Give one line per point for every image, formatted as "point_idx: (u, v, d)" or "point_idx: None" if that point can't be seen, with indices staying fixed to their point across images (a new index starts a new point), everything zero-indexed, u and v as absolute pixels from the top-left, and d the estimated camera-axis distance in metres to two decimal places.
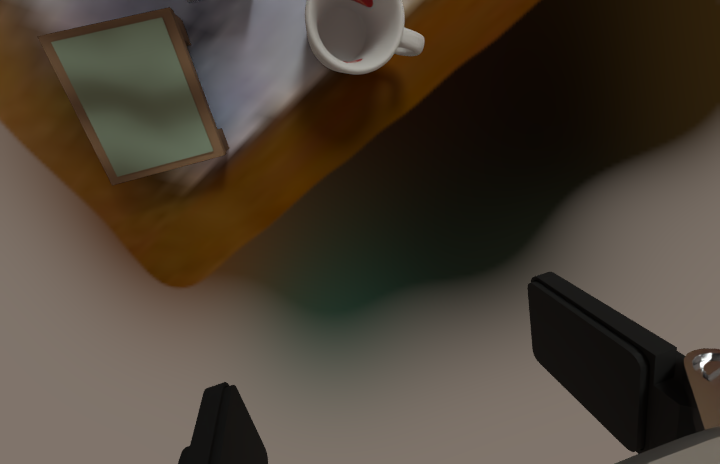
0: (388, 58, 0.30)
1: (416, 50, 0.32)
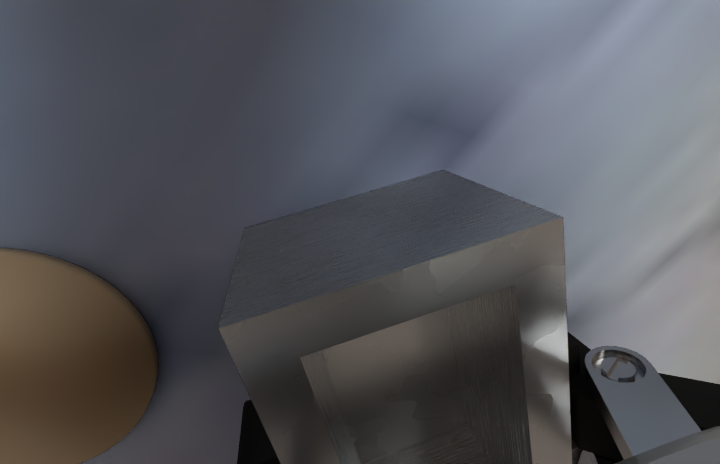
0: None
1: None
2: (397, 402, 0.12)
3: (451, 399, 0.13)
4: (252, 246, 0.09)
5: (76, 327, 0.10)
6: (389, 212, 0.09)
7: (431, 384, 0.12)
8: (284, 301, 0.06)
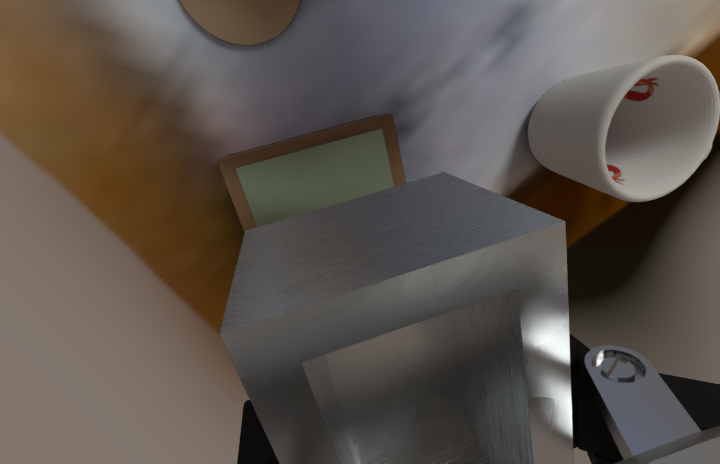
0: (684, 180, 0.22)
1: None
2: (398, 405, 0.12)
3: (452, 401, 0.13)
4: (253, 249, 0.09)
5: None
6: (390, 215, 0.09)
7: (432, 386, 0.12)
8: (285, 306, 0.06)
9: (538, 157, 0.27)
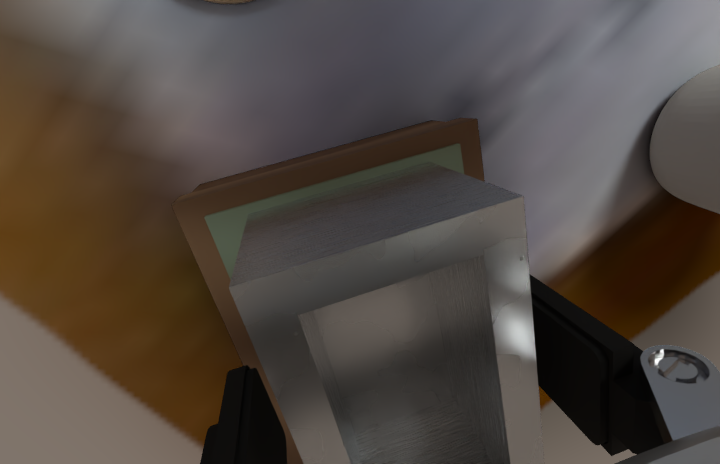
0: None
1: None
2: (388, 376, 0.13)
3: (438, 374, 0.14)
4: (256, 227, 0.10)
5: None
6: (378, 197, 0.10)
7: (419, 360, 0.13)
8: (284, 266, 0.07)
9: (669, 182, 0.18)
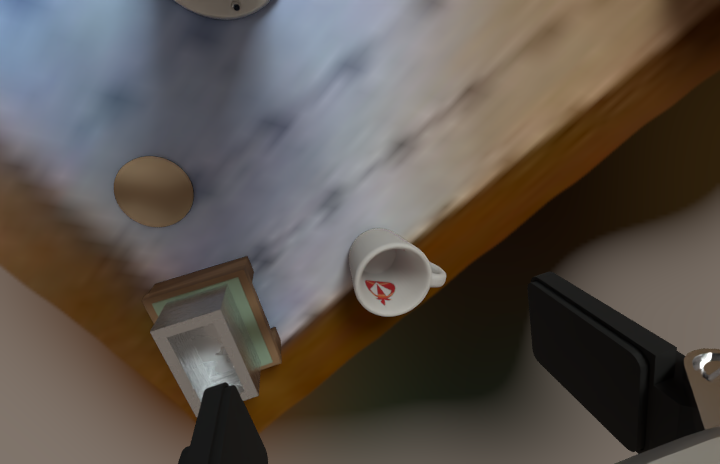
0: (418, 303, 0.38)
1: (439, 286, 0.39)
2: (219, 355, 0.38)
3: None
4: (164, 310, 0.34)
5: (172, 179, 0.36)
6: (199, 302, 0.34)
7: None
8: (163, 326, 0.32)
9: None
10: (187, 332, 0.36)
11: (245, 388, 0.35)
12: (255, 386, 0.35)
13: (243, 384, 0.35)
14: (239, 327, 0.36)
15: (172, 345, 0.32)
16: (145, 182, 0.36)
